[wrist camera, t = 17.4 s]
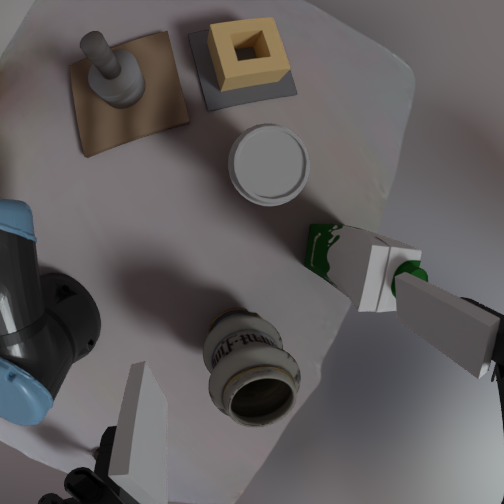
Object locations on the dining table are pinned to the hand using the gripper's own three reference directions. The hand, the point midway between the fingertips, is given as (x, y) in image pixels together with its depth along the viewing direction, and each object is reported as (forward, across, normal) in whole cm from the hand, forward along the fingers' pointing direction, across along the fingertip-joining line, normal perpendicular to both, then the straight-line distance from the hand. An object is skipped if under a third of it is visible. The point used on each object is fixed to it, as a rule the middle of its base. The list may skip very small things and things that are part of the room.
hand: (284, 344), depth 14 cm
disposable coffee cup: (+32, +7, +8) cm, 34 cm away
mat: (+32, +10, +25) cm, 42 cm away
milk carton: (+32, +16, -7) cm, 36 cm away
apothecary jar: (+32, -2, -17) cm, 36 cm away
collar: (+31, +10, +25) cm, 41 cm away
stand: (+32, -8, +25) cm, 41 cm away
